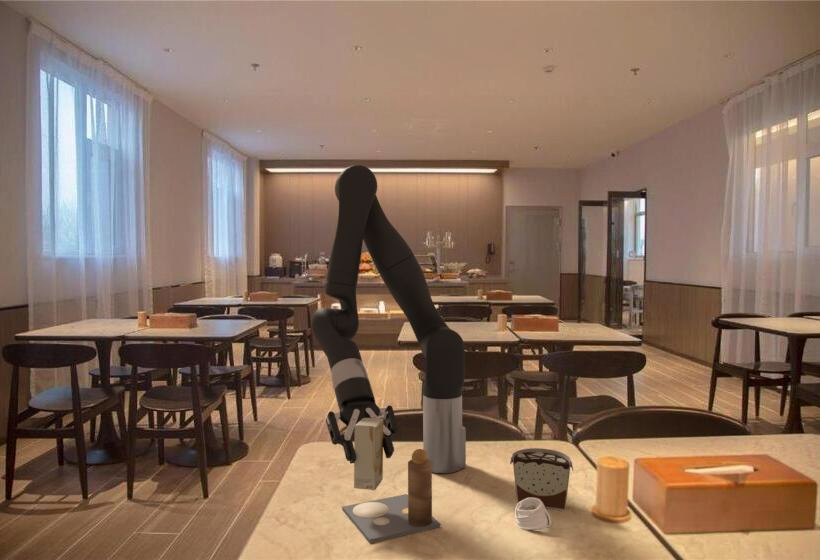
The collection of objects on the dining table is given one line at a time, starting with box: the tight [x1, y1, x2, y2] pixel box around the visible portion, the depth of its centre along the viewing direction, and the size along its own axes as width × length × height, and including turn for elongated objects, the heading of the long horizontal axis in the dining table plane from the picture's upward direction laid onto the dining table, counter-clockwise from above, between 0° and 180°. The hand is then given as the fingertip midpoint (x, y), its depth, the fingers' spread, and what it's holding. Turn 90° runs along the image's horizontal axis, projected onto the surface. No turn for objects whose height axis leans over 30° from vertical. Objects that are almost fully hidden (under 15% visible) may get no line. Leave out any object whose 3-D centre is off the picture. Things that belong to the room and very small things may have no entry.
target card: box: [341, 493, 442, 544], centre depth 110 cm, size 14×15×1 cm
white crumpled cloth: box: [514, 497, 553, 531], centre depth 107 cm, size 8×7×5 cm
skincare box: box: [353, 418, 384, 491], centre depth 112 cm, size 6×4×12 cm
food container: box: [509, 447, 574, 511], centre depth 117 cm, size 12×6×10 cm, turn 71°
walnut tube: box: [407, 448, 433, 527], centre depth 107 cm, size 4×4×14 cm
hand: (372, 458), depth 110 cm, fingers closed on skincare box, 7 cm apart
